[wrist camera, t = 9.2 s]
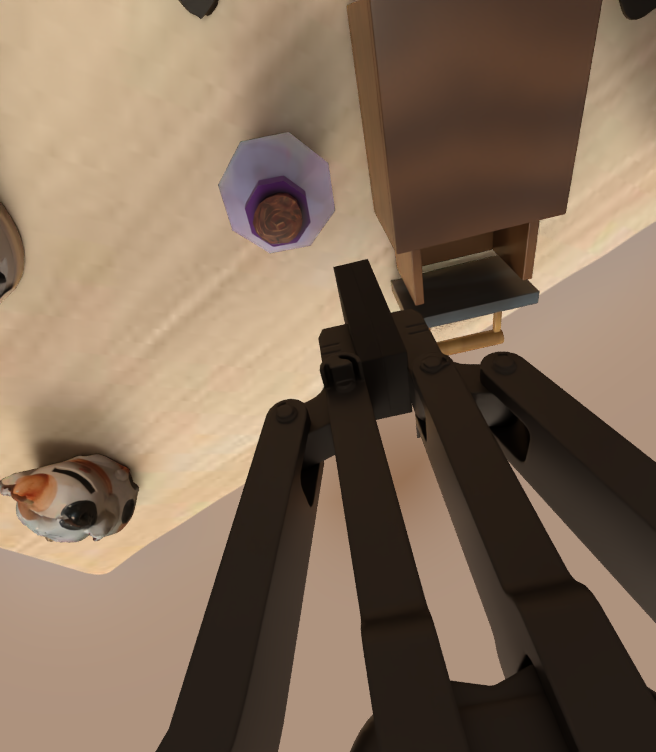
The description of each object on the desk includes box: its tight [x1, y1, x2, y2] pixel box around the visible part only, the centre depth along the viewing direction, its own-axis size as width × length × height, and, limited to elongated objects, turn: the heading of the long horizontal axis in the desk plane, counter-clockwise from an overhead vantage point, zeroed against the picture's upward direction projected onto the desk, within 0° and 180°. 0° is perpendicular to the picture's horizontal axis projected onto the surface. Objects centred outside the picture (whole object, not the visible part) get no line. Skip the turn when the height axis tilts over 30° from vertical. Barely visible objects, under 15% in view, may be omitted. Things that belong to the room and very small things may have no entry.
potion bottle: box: [218, 132, 335, 253], centre depth 30 cm, size 9×9×12 cm
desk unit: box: [347, 0, 602, 254], centre depth 29 cm, size 15×13×10 cm
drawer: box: [391, 220, 539, 356], centre depth 36 cm, size 20×11×8 cm, turn 12°
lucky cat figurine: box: [0, 454, 139, 542], centre depth 53 cm, size 15×12×14 cm
